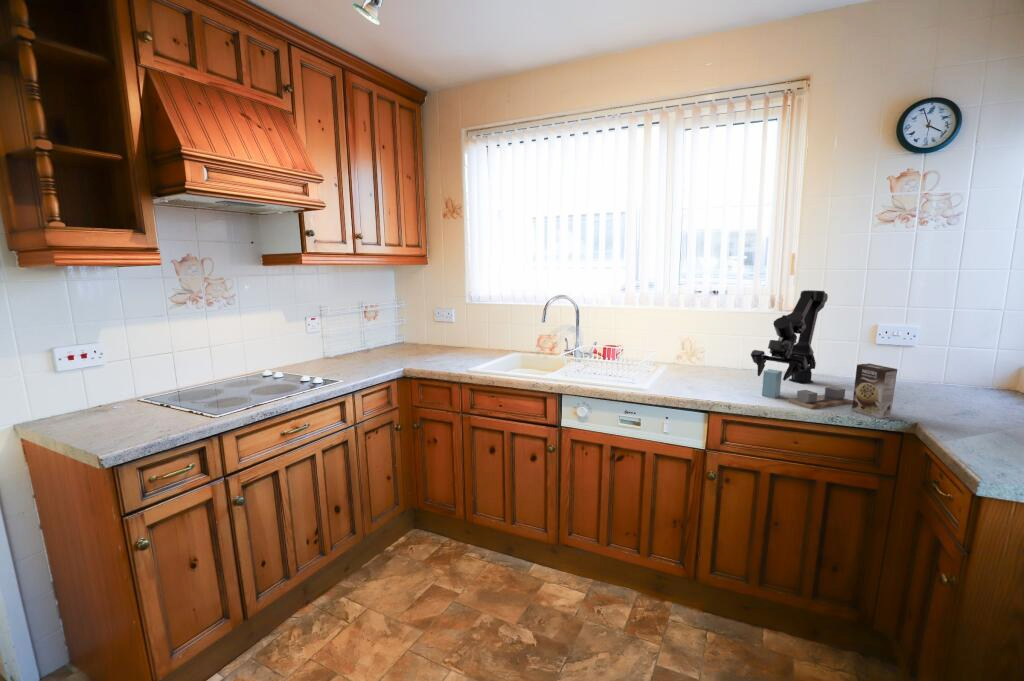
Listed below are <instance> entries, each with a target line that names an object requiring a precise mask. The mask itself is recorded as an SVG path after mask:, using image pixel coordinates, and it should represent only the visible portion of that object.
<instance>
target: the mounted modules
mask: <svg viewBox="0 0 1024 681" xmlns="http://www.w3.org/2000/svg"><path fill="white" fill-rule="evenodd" d="M824 389H825V390H824V395H825V396H829V397H833V398H836V399H837V398H846V397H845V395H846V389H845V388H842V387H837V386H825V388H824ZM796 394H797V395H796V398H797V399H798V400H802V401H805V402H815V401H817V395H818V392H815V391H811V390H808V389H802V390H797V393H796Z"/></svg>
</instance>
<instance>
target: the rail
mask: <svg viewBox="0 0 1024 681" xmlns="http://www.w3.org/2000/svg"><path fill="white" fill-rule="evenodd" d="M844 398H845V397H844ZM844 398H837V399H836V398H833V397H829V396H819V397H817V401H815V402H805V401H802V400H798V399H797V401H799V402H802V403H805V404H809V403H816V402H823V401H830V400H838V399H844Z"/></svg>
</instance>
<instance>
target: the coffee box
mask: <svg viewBox="0 0 1024 681" xmlns="http://www.w3.org/2000/svg"><path fill="white" fill-rule="evenodd" d="M897 376H898V368H893V367H889V366H884V365H879V364H874V363H860V364H859V363H858V364H857V365H856V371H855V379H854V388H853V397H852V400H853V403H851V404H852V405H851V411H852V412H854V411H855V413H859V414H861V415H865V416H869V417H871V418H876V419H884V418H889V417H890V418H891V417H892V410H893V403H894V396H895V395H894V394H895V388H896V383H897Z"/></svg>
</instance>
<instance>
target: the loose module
mask: <svg viewBox="0 0 1024 681" xmlns="http://www.w3.org/2000/svg"><path fill="white" fill-rule="evenodd" d="M782 374H783V372H782V370H779V369H778V370H777V369H770V368H769V369H767V370H763V376H762V388H761V389H762V391H761V397H767V398H771V399H776V398H778V397H780V396H781V388H782V387H781V386H782Z"/></svg>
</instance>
